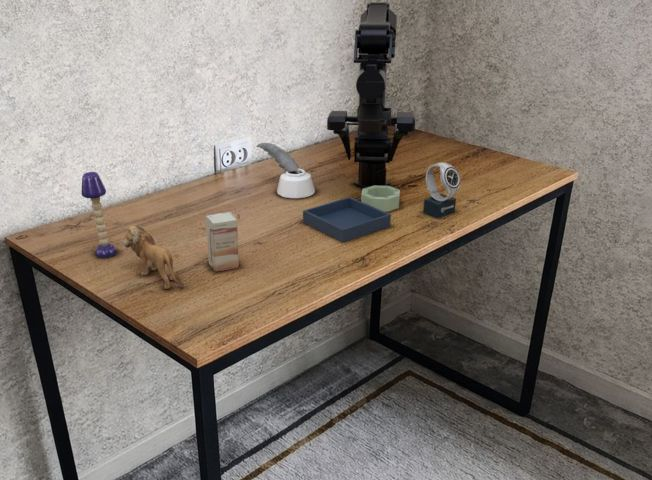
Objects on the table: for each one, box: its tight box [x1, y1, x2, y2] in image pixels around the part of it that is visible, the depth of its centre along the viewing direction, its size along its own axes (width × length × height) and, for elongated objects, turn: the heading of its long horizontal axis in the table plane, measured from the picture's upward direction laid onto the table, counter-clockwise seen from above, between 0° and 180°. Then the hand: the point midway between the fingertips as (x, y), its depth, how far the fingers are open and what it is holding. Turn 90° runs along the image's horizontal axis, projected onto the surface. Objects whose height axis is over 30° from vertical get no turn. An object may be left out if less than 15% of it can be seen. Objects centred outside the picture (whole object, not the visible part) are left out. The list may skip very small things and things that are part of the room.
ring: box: [360, 185, 401, 213], centre depth 175 cm, size 8×8×3 cm
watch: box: [422, 161, 462, 219], centre depth 168 cm, size 6×8×11 cm
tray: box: [302, 196, 392, 243], centre depth 165 cm, size 14×13×3 cm
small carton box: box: [205, 211, 240, 272], centre depth 147 cm, size 5×4×10 cm
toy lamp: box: [81, 171, 118, 259], centre depth 151 cm, size 5×5×17 cm
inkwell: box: [256, 142, 316, 200], centre depth 183 cm, size 9×18×10 cm, turn 48°
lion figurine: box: [120, 225, 185, 290], centre depth 143 cm, size 15×5×9 cm, turn 50°
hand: (370, 160), depth 170 cm, fingers open, 9 cm apart
